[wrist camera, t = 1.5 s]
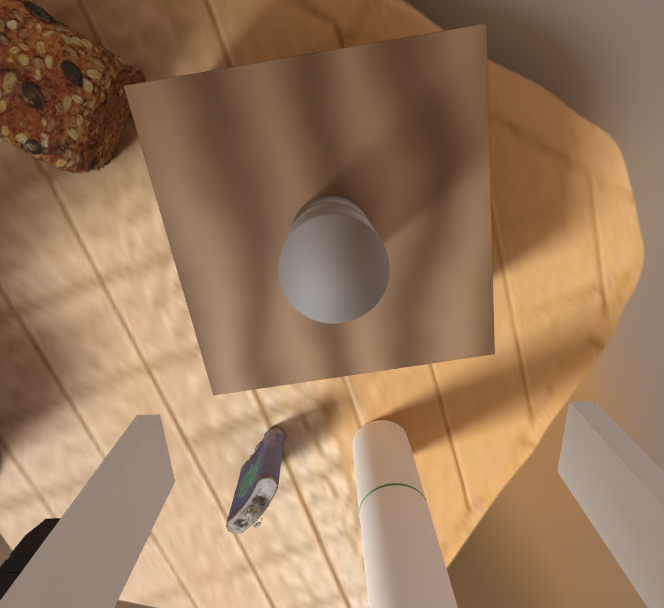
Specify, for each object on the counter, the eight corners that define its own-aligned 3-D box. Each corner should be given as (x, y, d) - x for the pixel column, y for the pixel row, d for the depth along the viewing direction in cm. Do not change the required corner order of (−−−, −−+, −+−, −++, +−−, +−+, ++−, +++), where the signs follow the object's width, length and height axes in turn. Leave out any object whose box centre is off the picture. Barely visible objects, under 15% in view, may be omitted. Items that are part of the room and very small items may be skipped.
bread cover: (240, 333, 49) (176, 480, 28) (183, 103, 41) (27, 56, 19) (451, 301, 48) (554, 426, 27) (436, 60, 40) (569, -39, 18)
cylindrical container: (357, 470, 56) (383, 702, 33) (347, 425, 54) (367, 641, 30) (411, 460, 56) (476, 688, 33) (403, 415, 54) (467, 625, 30)
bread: (-81, 64, 39) (-206, 39, 30) (-49, -57, 36) (-178, -127, 27) (113, 174, 43) (55, 183, 34) (156, 73, 40) (105, 51, 31)
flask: (272, 422, 54) (260, 487, 43) (292, 433, 54) (285, 499, 44) (236, 472, 56) (217, 544, 46) (255, 482, 57) (241, 555, 47)
